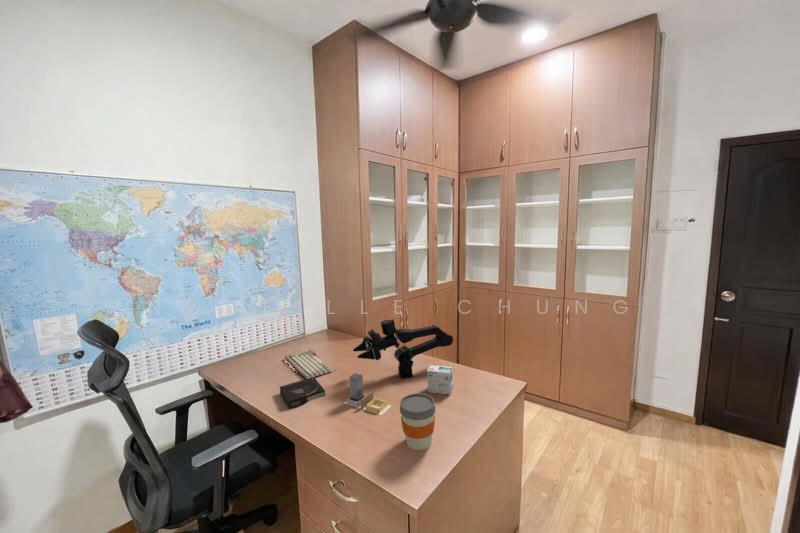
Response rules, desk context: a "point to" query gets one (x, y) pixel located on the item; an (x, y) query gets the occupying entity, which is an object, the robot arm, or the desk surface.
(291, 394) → the portable cd player
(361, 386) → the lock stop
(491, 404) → the desk surface
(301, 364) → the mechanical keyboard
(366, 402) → the board
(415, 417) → the reusable coffee cup
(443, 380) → the light bulb box
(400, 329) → the robot arm
